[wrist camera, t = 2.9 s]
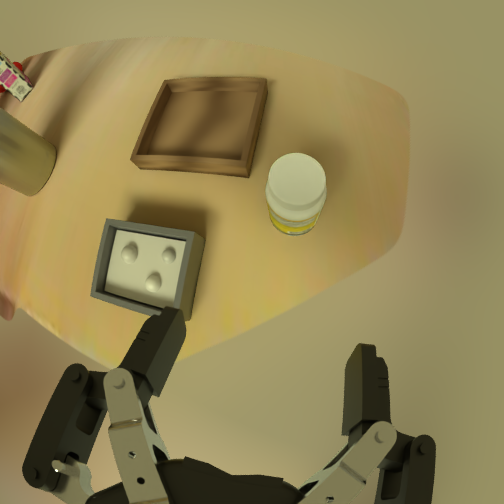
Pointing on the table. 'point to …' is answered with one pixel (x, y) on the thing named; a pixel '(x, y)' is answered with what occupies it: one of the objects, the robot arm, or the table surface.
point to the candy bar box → (13, 79)
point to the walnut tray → (203, 126)
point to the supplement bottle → (295, 193)
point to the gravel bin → (147, 267)
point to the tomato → (0, 88)
